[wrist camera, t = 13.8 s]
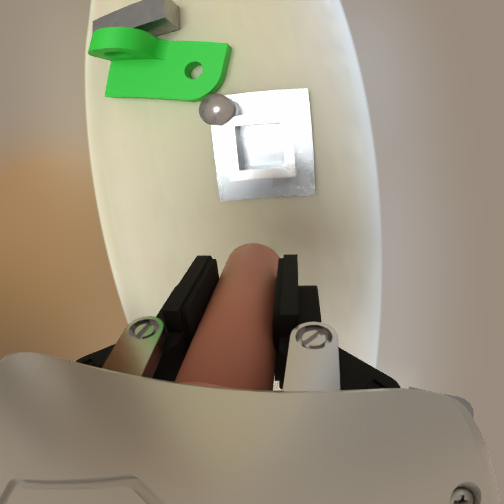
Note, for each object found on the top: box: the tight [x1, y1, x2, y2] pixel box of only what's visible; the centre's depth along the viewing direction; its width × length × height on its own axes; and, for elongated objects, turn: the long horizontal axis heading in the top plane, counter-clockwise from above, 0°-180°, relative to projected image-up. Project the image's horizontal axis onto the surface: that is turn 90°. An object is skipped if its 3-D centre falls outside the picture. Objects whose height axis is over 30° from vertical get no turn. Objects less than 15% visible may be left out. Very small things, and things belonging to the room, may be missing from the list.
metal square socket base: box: [199, 89, 316, 201], centre depth 24 cm, size 10×9×5 cm
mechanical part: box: [88, 27, 231, 102], centre depth 20 cm, size 12×6×8 cm, turn 79°
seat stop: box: [93, 0, 180, 36], centre depth 20 cm, size 3×8×4 cm, turn 96°
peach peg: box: [175, 244, 279, 391], centre depth 10 cm, size 3×3×9 cm
